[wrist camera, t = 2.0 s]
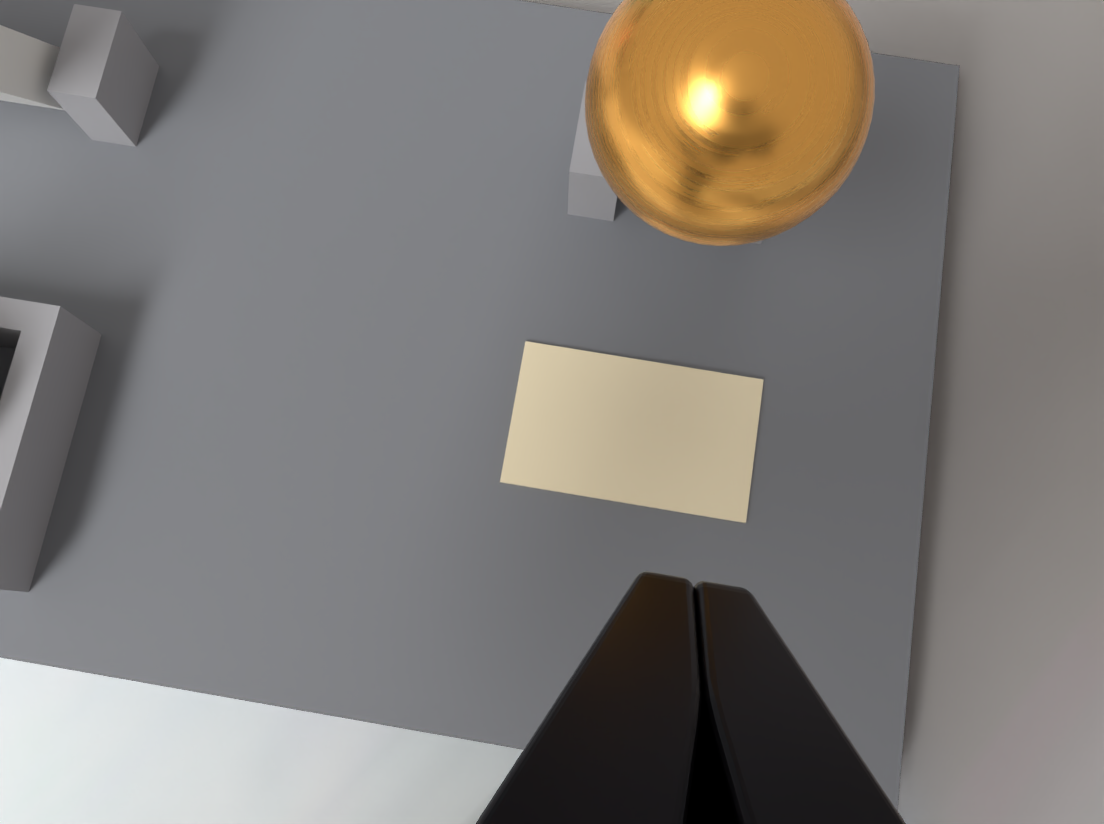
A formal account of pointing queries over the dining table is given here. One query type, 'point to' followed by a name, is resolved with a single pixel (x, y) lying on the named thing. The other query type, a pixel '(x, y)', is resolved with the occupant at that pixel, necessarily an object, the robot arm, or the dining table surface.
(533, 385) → the switch panel
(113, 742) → the dining table surface
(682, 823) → the robot arm
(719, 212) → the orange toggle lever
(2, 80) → the grey paddle
